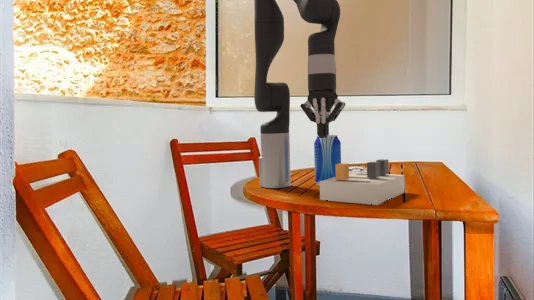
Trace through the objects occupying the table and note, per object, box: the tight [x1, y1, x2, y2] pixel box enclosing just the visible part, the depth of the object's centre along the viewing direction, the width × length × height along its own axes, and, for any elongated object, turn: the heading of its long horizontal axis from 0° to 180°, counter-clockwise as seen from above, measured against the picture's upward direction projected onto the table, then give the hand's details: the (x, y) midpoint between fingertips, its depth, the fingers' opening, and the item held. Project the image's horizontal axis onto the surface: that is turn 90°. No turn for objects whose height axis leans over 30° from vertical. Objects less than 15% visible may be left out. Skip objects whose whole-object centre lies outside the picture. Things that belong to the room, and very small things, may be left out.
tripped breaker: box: [335, 162, 350, 180], centre depth 120 cm, size 2×3×4 cm
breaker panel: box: [319, 172, 405, 206], centre depth 124 cm, size 16×20×5 cm
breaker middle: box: [366, 161, 380, 178], centre depth 122 cm, size 2×3×4 cm
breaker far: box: [375, 159, 389, 175], centre depth 127 cm, size 2×3×4 cm
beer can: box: [313, 134, 342, 187], centre depth 146 cm, size 8×8×16 cm
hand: (323, 137), depth 123 cm, fingers closed
